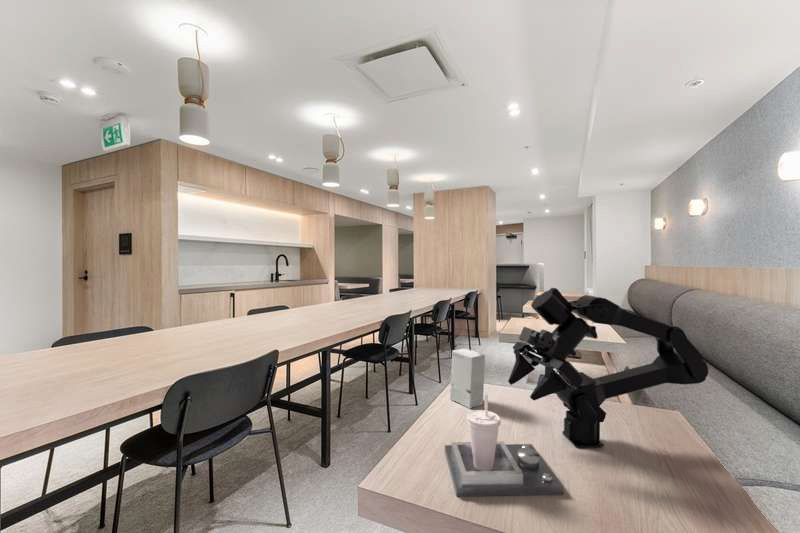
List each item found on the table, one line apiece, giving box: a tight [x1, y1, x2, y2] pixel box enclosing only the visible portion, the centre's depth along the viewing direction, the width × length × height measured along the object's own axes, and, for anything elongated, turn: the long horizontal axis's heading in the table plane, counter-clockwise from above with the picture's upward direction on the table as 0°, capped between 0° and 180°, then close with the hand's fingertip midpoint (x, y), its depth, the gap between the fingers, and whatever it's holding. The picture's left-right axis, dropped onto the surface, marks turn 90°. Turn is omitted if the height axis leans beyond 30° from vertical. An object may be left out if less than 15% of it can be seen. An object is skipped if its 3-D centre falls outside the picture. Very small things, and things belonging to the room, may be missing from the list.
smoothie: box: [466, 393, 502, 471], centre depth 67 cm, size 6×6×14 cm
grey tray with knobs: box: [444, 441, 564, 497], centre depth 68 cm, size 19×14×4 cm
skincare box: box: [449, 348, 486, 409], centre depth 101 cm, size 8×6×15 cm
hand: (520, 390), depth 77 cm, fingers open, 9 cm apart
